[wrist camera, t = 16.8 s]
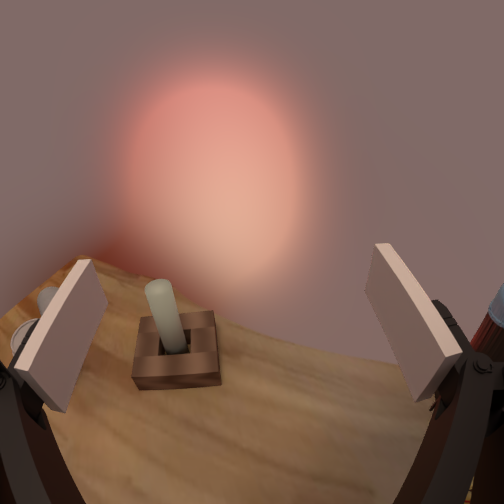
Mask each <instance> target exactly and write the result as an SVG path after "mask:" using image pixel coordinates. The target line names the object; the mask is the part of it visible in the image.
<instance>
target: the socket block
mask: <svg viewBox="0 0 504 504" xmlns="http://www.w3.org/2000/svg"><path fill="white" fill-rule="evenodd" d="M179 317H180V321H181V325H182V328H183V332H184V335H185V339H186V342H187V344H191V353H189V354H177V355H165V348H164V346H163V343H162V340H161V338H160V335H159V332H158V329H157V326H156V323H155V321H154V318H153V316H148V317H141V319H140V324H139V330H138V336H137V342H136V349H135V355H134V362H133V369H132V376H131V377H132V379H133V381H134V382H135V384H136V386H137V387H138V389H139V390H162V389H181V388H195V387H207V386H217V385H221V376H220V366H219V356H218V346H217V335H216V324H215V318H214V312H213V310H212V311H203V312H193V313H183V314H179Z"/></svg>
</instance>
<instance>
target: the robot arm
mask: <svg viewBox="0 0 504 504" xmlns="http://www.w3.org/2000/svg"><path fill="white" fill-rule="evenodd" d="M365 293H366V295H367V297H368V299H369V301H370V303H371V305H372V307H373V309H374V311H375V313H376V315H377V317H378V319H379V322H380V324H381V326H382V328H383V330H384V332H385V335H386V336H387V339H388V341H389V343H390V345H391V348H392V350H393V352H394V354H395V357H396V359H397V361H398V364H399V366H400V368H401V371H402V373H403V375H404V378H405V380H406V383H407V385H408V387H409V390H410V392H411V395H412V397H413V400H414V402H418V401H422V400H425V399H428V398H431V397H432V395H433V394H434V393H435V398H436V401H435V403H434V404H433V405H432V406H431V408H430V410H429V411H432V410H433V409H434V408H435V409H434V412H433V415H432V418H431V420H430V423H429V426H428V429H427V431H426V434H425V436H424V439H423V442H422V444H421V446H420V449H419V451H418V454H417V456H416V458H415V460H414V463H413V465H412V467H411V469H410V471H409V473H408V476H407V478H406V480H405V482H404V484H403V486H402V488H401V490H400V491H399V493H398V495H397V497H396V499H395V501H394V503H393V504H464V502H465V499H466V497H467V494H468V491H469V489H470V486H471V483H472V480H473V486H472V493H471V500H470V504H504V283H503V285H502V286H501V287H500V289H499V291H498V293H497V295H496V296H495V298H494V299H493V301H492V302H491V303H490V305H489V308H488V309H489V310H488V312H487V314H486V316H485V318H484V320H483V322H482V323H481V325H480V327H479V329H478V330H477V332H476V334H475V335H474V337H473V339H472V340H471V342H470V343H469V341H468V340H467V338H466V336H465V335H464V333H463V332H462V330H461V328H460V327H459V326H458V325H457V322H456V321H455V319H454V318H452V315H451V313H450V312H449V310H448V309H447V307H445V306H444V305H443V304H442V303H441V302H439V301H438V300H432V301H431V300H430V299H429V297H428V296H427V294H426V293H425V292H424V290H423V289H422V287H421V286H420V284H419V283H418V282H417V280H416V279H415V277H414V276H413V275H412V273H411V272H410V270H409V269H408V268H407V266H406V265H405V264H404V262H403V261H402V260H401V258H400V257H399V256H398V254H397V253H396V252H395V250H394V249H393V248H392V246H391V245H390V244H389V243H386V244H385V243H384V244H375V245H374V250H373V255H372V260H371V265H370V269H369V274H368V278H367V283H366V287H365ZM107 305H108V302H107V299H106V297H105V294H104V292H103V289H102V287H101V284H100V282H99V279H98V276H97V274H96V271H95V268H94V266H93V263H92V260H91V259H87V260H78V261H77V263H76V264H75V266H74V267H73V269H72V270H71V272H70V273H69V274H68V276H67V277H66V279H65V280H64V282H63V283H62V285H61V286H60V288H59V290H58V291H57V293H56V294H55V296H54V297H53V299H52V300H51V302H50V304H49V305H48V307H47V309H46V310H45V312H44V314H43V315H42V317H41V319H37V320H36V321H35V322H34V323H33V324H32V325H31V326H30V328H29V329H28V331H27V333H26V335H25V337H24V338H23V340H22V342H21V345H19V347H18V349H17V351H16V353H15V355H14V357H13V359H12V361H11V363H10V365H9V367H8V369H7V368H6V367H5V366H4V365H3V363H2V362H1V361H0V504H86V503H85V501H84V499H83V498H82V496H81V494H80V492H79V490H78V488H77V486H76V484H75V482H74V480H73V478H72V476H71V474H70V472H69V470H68V468H67V466H66V464H65V461H64V459H63V457H62V455H61V452H60V450H59V448H58V445H57V443H56V440H55V438H54V435H53V432H52V430H51V427H50V424H49V421H48V419H47V416H46V413H45V411H44V409H43V408H42V406H43V403H45V404H46V405H47V406H48V407H49V408H50V409H51V410H54V411H58V412H62V413H66V410H67V407H68V404H69V401H70V398H71V395H72V392H73V389H74V386H75V384H76V381H77V378H78V375H79V373H80V370H81V367H82V365H83V362H84V360H85V357H86V354H87V352H88V349H89V347H90V344H91V342H92V340H93V337H94V335H95V332H96V330H97V328H98V325H99V323H100V321H101V319H102V316H103V314H104V312H105V310H106V307H107ZM473 477H474V479H473Z"/></svg>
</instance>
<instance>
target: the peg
mask: <svg viewBox="0 0 504 504" xmlns="http://www.w3.org/2000/svg"><path fill="white" fill-rule="evenodd" d="M145 293H146V296H147V299H148V303H149V306H150V309H151V312H152V315H153V318H154V321H155V323H156V326H157V329H158V332H159V335H160V338H161V340H162V343H163V346H164V348H165V351H166V354H167V355H177V354H189V349H188V346H187V342H186V339H185V335H184V332H183V328H182V325H181V321H180V317H179V313H178V310H177V306H176V302H175V298H174V294H173V290H172V286H171V283H170V282H169V281H168V280H165V279H157V280H153V281H151V282H150V283H148V284H147V285H146V287H145Z"/></svg>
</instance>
